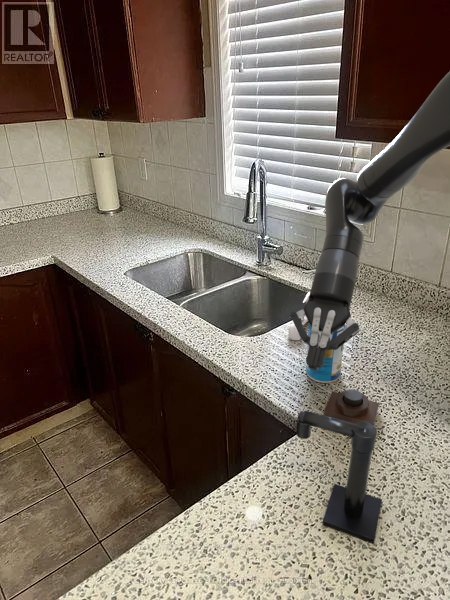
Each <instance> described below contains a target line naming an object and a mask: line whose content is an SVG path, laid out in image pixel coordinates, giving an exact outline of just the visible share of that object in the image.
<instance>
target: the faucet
mask: <svg viewBox="0 0 450 600" xmlns="http://www.w3.org/2000/svg"><path fill="white" fill-rule="evenodd" d="M309 295H310V291H308V292H307V293H306V295H305V297H304V299H303V301H302V303H303V304H304V303H305V304H306V303H307V302H308V299H309ZM304 319H305V321H304V322H303V323H302V325H303V326H304V325H305V324H306V323H309V321H308V319H307V317H306V315H305V316H304ZM287 329H288V330H287V331H288V338H289V339H290V340H292V341H300V340H302V339H301V337H300V335H299V333H298V331H297V329H296V326H295V324H294V322H293V323H291V324H290V325H289V326H288V328H287Z"/></svg>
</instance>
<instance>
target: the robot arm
mask: <svg viewBox="0 0 450 600" xmlns="http://www.w3.org/2000/svg"><path fill="white" fill-rule="evenodd" d="M448 147H450V71H449V72H447V73H446V74H445V75H444V77H442V79H440V81H439V82H438V83H437V84H436V86H435V87H434V89H433V90H432V91H431V93H430V94H429V95H428V96H427V98H426V99H425V101H424V102H423V103H422V104H421V106H420V107H419V109H417V111H416V113H415V114H414V115H413V116H412V118H411V119H410V120H409V121H408V122H407V124H406V125H405V126H404V127H403V129H402V130H401V131H400V132H399V134H397V136H396V137H395V138H394V139H393V140H392V141H391V142H389V144H388V145H387V146H386V147H385V148H384V149H383V150H382V151H380V152H379V154H377V155H375V157H374V158H373V159H372V160H371V161H369V163H368V164H366V165H365V166H364V167H363V168H362V169H361V170H360V171H359V173H358V175H357V177H356V181H354V180H351V179H349V178H347V177H346V178H345V177H342V178H338V179H337V180H334V181H333V183H331V185H330V186H329V188H328V190H327V192H326V195H325V202H324V209H325V229H326V230H325V238H324V242H323V246H322V250H321V254H320V257H319V258H318V261H317V264H316V267H315V271H314V276H313V280H312V283H311V287H310V290H309V292H310V295H309V299H308V302H307V303H306V302H305V304H304V305H303V308H302V309H300V310H298V311H291V312H290V314H289V315H290V318H291V320H292V322H293V323H294V324H295V326H296V329H297V331H298V333H299V335H300V337H301V339H300V340H302V343H304V344H305V345H307V346H308V345H309V350H308V355H307V354H306V359H305V364H306V366H307V365H309V366H308V367H309V369H312V370H317V371H318V369H319V368H322V366H323V363H324V359H325V355H326V352H327V351H328V350H331V349H333V350H337V349H338V348H339V347H341V346H342V345H343V344H346V343H347V342H348V341H350V340H351V339H352V338H353V337H355V336H356V335H357V334H358V333H360V330H361V329H360V325H359V324H358V323H357V322H355V321H354V320H353V319H352V315H351V311H350V310H351V309H350V308H351V304H352V299H353V295H354V291H355V286H356V283H357V280H358V273H359V263H360V257H361V253H362V249H363V245H364V239H365V237H364V233H363V232H362V230H361V229H360V228H359V227H357V226H356V225H355V224H358V225H368V224H370V223H372V222H374V220H375V219H376V218H377V217H378V215H379V213H380V212H381V210H382V209H383V207H384V206H385V204H386V203H387V202H388V201H389V199H390V198H391V197H393V196H394V195H396V194H397V193H398V192H400V191H401V190H402V189H404V188H405V187H406V186H408V185H409V184H410V183H411V182H412V181H414V179H416V178H417V176H418V175H419V174H420V173H421V171H422V169H423V168H424V166H425V164H426V163H427V162H428V160H430V159H431V158H433V156H435V155H436V154H437V153H439V152H440V151H443V150H445V149H446V148H448ZM353 223H355V224H353ZM305 315H306V317H307V319H308V325H309V324H310V325H311V327H312V329H311V338H310V337H309V336H308V332H307V331H306V330H305V327H304V325H302V323H303V322H304V321H305V319H304V316H305ZM344 324H345V330H344V331H343V332H342V333H340V334H339V335H338V336H337V337H335V338H334V339H333V340H332V341H330V340H331V339H332V335H333V332H336V331H337V330H338V329H340V328H341V327H342V326H343V325H344ZM321 331H323V332H322V337H321ZM320 337H321V340H320ZM319 341H320V343H319ZM343 346H344V345H343ZM318 347H319V348H318Z"/></svg>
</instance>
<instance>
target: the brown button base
mask: <svg viewBox="0 0 450 600" xmlns="http://www.w3.org/2000/svg"><path fill="white" fill-rule="evenodd" d="M347 390H348V389H347ZM347 390H342V391H341V392H336V391H331V393H330V395H329V398H328V400H327V402H326V406H325V407H324V410H323V415H324V416H328V417H331V418H335V419H339V420H343V421H346V422H350V423H354V424H355V423H357V422H361V421H363V422H368V423H370V424H372V425H373V426H374V427H375V425H376V421H377V417H378V412H379V405H380V402H377V401H373V400H370V399H369V398H368V396H367V395H366V394H364V393H363V392H361V391H359V392H360V393H361V394H362V403H361V405H360V406H357V407H353V406H349V405H347V404H345V403H344V393H345V391H347Z"/></svg>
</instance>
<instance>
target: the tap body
mask: <svg viewBox="0 0 450 600" xmlns="http://www.w3.org/2000/svg"><path fill="white" fill-rule="evenodd" d="M372 456H373V451H372V452H369V453H361V452H358V451H356V450H355V449H354V448H353V447H352V446H351V448H350V458H349V464H348V471H347V480H346V486H342V485H340V484H336V483H334V484H333V487H332V489H331V494H330V496H329V499H328V503H327V506H326V509H325V513H324V516H323V519H322V526H323V527H327V528H330V529H332V530H335V531H337V532H340V533H343V534H346V535H348V536H351V537H354V538H356V539H359V540H362V541H365V542H367V543H370V544H373V545H374V544H375V540H376V535H377V529H378V523H379V519H380V513H381V507H382V502H383V498H380V497H377V496H373V495H370V494H368V493H366V492H367V487H368V481H369V476H370V475H369V474H370V469H371V467H370V466H371V461H372Z"/></svg>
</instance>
